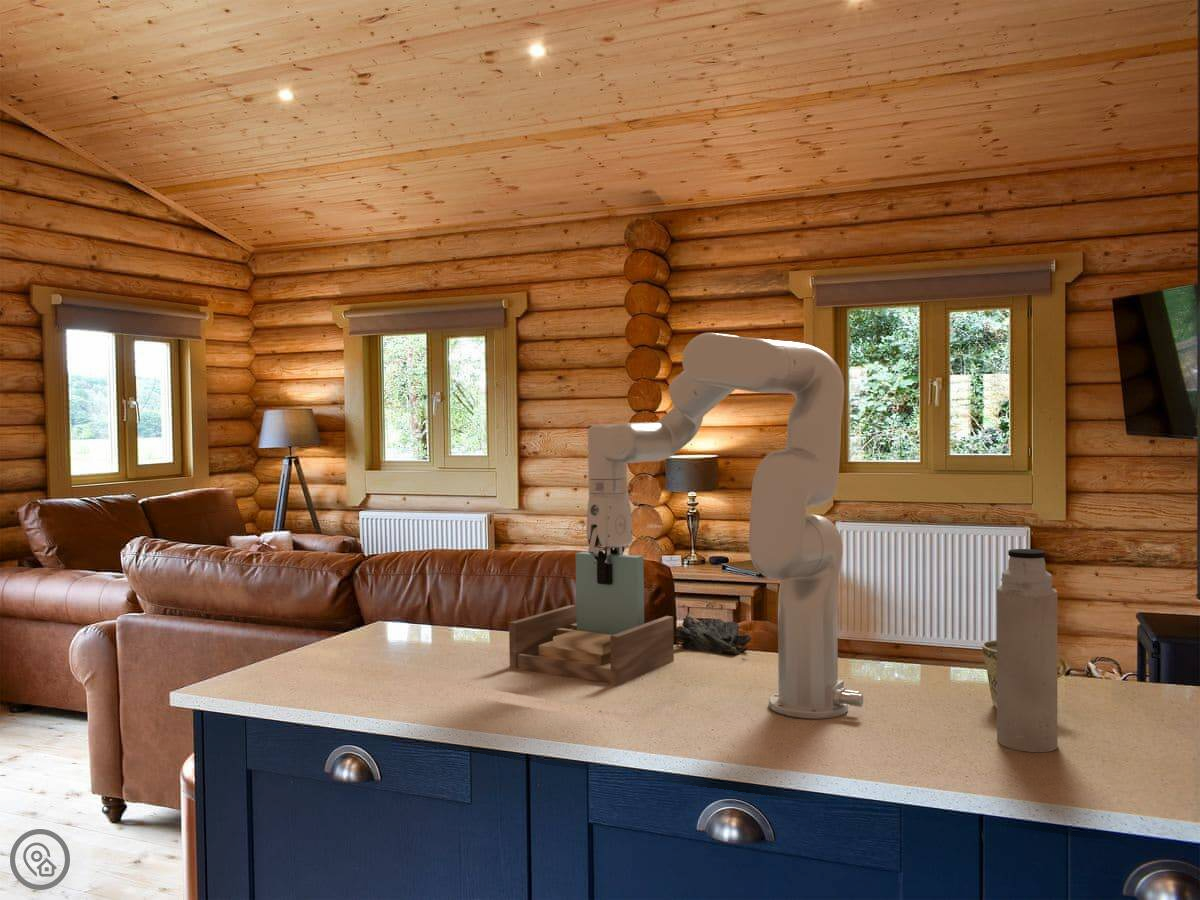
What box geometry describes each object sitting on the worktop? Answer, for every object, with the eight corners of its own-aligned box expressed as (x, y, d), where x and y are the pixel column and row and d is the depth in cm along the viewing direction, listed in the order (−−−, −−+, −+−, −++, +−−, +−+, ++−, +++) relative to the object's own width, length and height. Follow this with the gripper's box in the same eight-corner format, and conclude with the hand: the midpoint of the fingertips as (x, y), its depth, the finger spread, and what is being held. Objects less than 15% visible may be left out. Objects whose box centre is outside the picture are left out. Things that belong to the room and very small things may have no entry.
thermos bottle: (1007, 730, 142) (1007, 544, 141) (1064, 741, 137) (1064, 549, 136) (988, 744, 136) (988, 550, 136) (1047, 756, 131) (1047, 555, 130)
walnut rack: (673, 668, 181) (673, 616, 180) (618, 694, 164) (617, 636, 164) (571, 653, 194) (570, 604, 194) (509, 675, 177) (509, 622, 177)
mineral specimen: (668, 635, 186) (688, 590, 190) (670, 653, 198) (689, 610, 202) (739, 665, 182) (758, 619, 186) (738, 681, 193) (756, 637, 197)
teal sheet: (644, 660, 181) (643, 556, 181) (638, 663, 179) (636, 557, 178) (584, 651, 189) (582, 551, 188) (577, 654, 187) (575, 553, 186)
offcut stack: (633, 667, 176) (633, 635, 176) (607, 678, 168) (606, 645, 168) (563, 657, 185) (562, 626, 185) (535, 667, 177) (535, 635, 177)
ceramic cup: (970, 707, 154) (970, 646, 154) (1001, 695, 161) (1000, 636, 160) (1050, 725, 144) (1050, 660, 144) (1079, 712, 151) (1079, 650, 150)
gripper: (601, 491, 174) (602, 590, 175) (645, 486, 188) (647, 578, 188) (568, 490, 178) (569, 587, 179) (613, 485, 192) (615, 575, 192)
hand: (609, 582), depth 183 cm, fingers closed on teal sheet, 2 cm apart
